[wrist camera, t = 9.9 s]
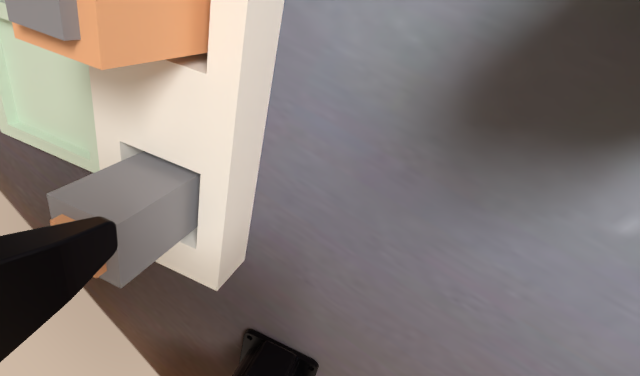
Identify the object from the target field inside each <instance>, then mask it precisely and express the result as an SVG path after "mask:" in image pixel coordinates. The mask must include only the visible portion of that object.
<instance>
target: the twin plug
mask: <svg viewBox="0 0 640 376" xmlns="http://www.w3.org/2000/svg"><path fill="white" fill-rule="evenodd" d="M200 176H201V174H199V173H196V172H194V171H192V170H189V169H187V168H184V167H182V166H179V165H177V164H175V163H172V162H170V161H167V160H165V159H162V158H160V157H157V156H155V155H153V154H150V153H148V152H145V151H143V152H141V153H138V154H136V155H134V156H132V157H129V158H127V159H125V160H122V161H120V162H118V163H116V164H113V165H111V166H109V167H107V168H104V169H102V170H100V171H97V172H95V173H93V174H91V175H88V176H86V177H84V178H81V179H79V180H77V181H75V182H72V183H70V184H68V185H66V186H63V187H61V188H59V189H56V190H54V191H52V192H50V193H47V199H48V204H49V209H50V214H51V220H50V224H51V226H52V225H57V224H62V223H67V222H71V221H76V220H81V219H86V218H91V217H96V216H103V217H105V218H107V219H110V220H112V221H114V222H115V224H116V227H117V238H118V248H117V250H116V252H115V254H114V255H113V256H112V257H111V258H110V259H109V260H108V261H107V262H106V263H105V264H104V265H103V266H102V268H101V269H100V270H99V271H98V272H97V273H96V274H95V275H94V276H93V277H95V278H98V277H99V278H101V279H103V280H105V281H107V282H109V283H111V284H113V285H115V286H117V287H119V288H122V287H124V286H125V285H126V284H127V283H129V282H130V281H131V280H132V279H134V278H135V277H136V276H137V275H138V274H140V273H141V272H142V271H143V270H145V269H146V268H147V267H148V266H150V265H151V264H152V263H153V262H155V261H156V260H157V259H158V258H159V257H161V256H162V255H163V254H164V253H166V252H167V251H168V250H169V249H171V248H172V247H173V246H174V245H175V244H177V243H178V242H179V241H180V240H182V239H183V238H184V237H185V236H187V235H188V234H189V233H190V232H192V231H193V230H194V229H195V228H196V227H198V210H199V193H200Z"/></svg>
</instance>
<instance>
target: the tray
mask: <svg viewBox="0 0 640 376" xmlns="http://www.w3.org/2000/svg"><path fill="white" fill-rule="evenodd" d="M0 130H1V132H2V133H4V134H6V135H9V136H11V137H13V138H15V139H18V140H20V141H22V142H25V143H27V144H29V145H31V146H34V147H36V148H38V149H40V150H43V151H45V152H47V153H50V154H52V155H54V156H56V157H59V158H61V159H63V160H66V161H68V162H70V163H72V164H75V165H77V166H79V167H81V168H84V169H86V170H88V171H91V172H93V173H95V172H97V171H100V167H99V158H98V149H97V139H96V130H95V121H94V112H93V102H92V93H91V84H90V74H89V65H87V64H84V63H81V62H79V61H76V60H73V59H71V58H68V57H65V56H63V55H60V54H57V53H55V52H52V51H49V50H46V49H44V48H41V47H38V46H36V45H33V44H30V43H28V42H25V41H22V40H20V39H17V38H15V35H14V30H13V25H12V22H11V21H9V18H8V13H7V8H6V3H5V0H0Z"/></svg>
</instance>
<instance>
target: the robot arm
mask: <svg viewBox="0 0 640 376" xmlns="http://www.w3.org/2000/svg"><path fill="white" fill-rule="evenodd" d="M117 248H118V238H117V227H116V224H115V222H114V221H112V220H110V219H107V218H105V217H103V216H96V217H91V218H86V219H81V220H76V221H71V222H67V223H62V224H57V225H52V226H47V227H42V228H37V229H32V230H27V231H23V232H18V233H13V234H8V235H3V236H0V362H1V361H2V360H3V359H4V358H6V357H7V356H8V355H9V354H10V353H11V352H12V351H14V350H15V349H16V348H17V347H18V346H19V345H20V344H21V343H23V342H24V341H25V340H26V339H27V338H28V337H29V336H31V335H32V334H33V333H34V332H35V331H36V330H37V329H38V328H40V327H41V326H42V325H43V324H44V323H45V322H46V321H48V320H49V319H50V318H51V317H52V316H53V315H54V314H55V313H57V312H58V311H59V310H60V309H61V308H62V307H63V306H64V305H65V304H67V303H68V302H69V301H70V300H71V299H72V298H73V297H74V296H75V295H76V294H77V293H78V292H79V291H80V290H81V289H82V288H83V287H84V285H85V284H86V283H87V282H88V281H89V280H90V279H91V278H92V277H93V276H94V275H95V274H96V273H97V272H98V271H99V270H100V269H101V268H102V266H103V265H104V264H105V263H106V262H107V261H108V260H109V259H110V258H111V257H112V256H113V255H114V254H115V252H116V250H117ZM318 367H319V365H318V363H317V362H316V361H314V360H312V359H310V358H308V357H306V356H304V355H302V354H300V353H298V352H296V351H294V350H292V349H290V348H288V347H286V346H284V345H282V344H280V343H278V342H276V341H274V340H272V339H270V338H268V337H266V336H264V335H262V334H260V333H258V332H256V331H254V330H251V329H249V330H247V332H246V333H245V335H244V340H243V345H242V351H241V357H240V362H239V366H238V367H237V369H236V370H235V372H234V374H233V375H232V376H315V375H316V372H317V370H318Z"/></svg>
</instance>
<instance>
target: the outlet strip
mask: <svg viewBox="0 0 640 376" xmlns="http://www.w3.org/2000/svg"><path fill="white" fill-rule="evenodd" d="M283 7H284V0H211V5H210V22H209V39H208V53H202V54H196V55H190V56H184V57H178V58H172V59H166V60H160V61H154V62H148V63H142V64H136V65H130V66H124V67H118V68H112V69H105V70H100V69H97V68H95V67H92V66H89V74H90V84H91V93H92V102H93V112H94V121H95V130H96V139H97V149H98V158H99V167H100V170H102V169H104V168H107V167H109V166H111V165H113V164H116V163H118V162H120V161H122V160H125V159H127V158H129V157H132V156H134V155H136V154H138V153H141V152H143V151H145V152H148V153H150V154H153V155H155V156H157V157H160V158H162V159H165V160H167V161H170V162H172V163H175V164H177V165H179V166H182V167H184V168H187V169H189V170H192V171H194V172H196V173H199V174H201V176H200V193H199V210H198V227H196V228H195V229H194V230H193V231H192V232H190V233H189V234H188V235H187V236H185V237H184V238H183V239H182V240H180V241H179V242H178V243H177V244H175V245H174V246H173V247H172V248H171V249H169V250H168V251H167V252H166V253H164V254H163V255H162V256H161V257H159V258H158V259H157V260H156V261H155V262H157V263H159V264H161V265H163V266H165V267H168V268H170V269H172V270H174V271H176V272H178V273H180V274H182V275H184V276H186V277H188V278H190V279H193V280H195V281H197V282H199V283H201V284H203V285H205V286H207V287H209V288H211V289H213V290H215V291H218V290H219V288H220V287H221V286H222V285H223V284H224V283H225V282H226V280H227V279H228V278H229V277H230V276H231V275H232V274H233V273H234V271H235V270H236V269H237V268H238V267H239V266H240V265H241V263H242V262H243V261H244V260H245V255H246V248H247V242H248V235H249V229H250V222H251V216H252V209H253V203H254V196H255V190H256V183H257V176H258V170H259V163H260V157H261V150H262V144H263V137H264V131H265V124H266V118H267V111H268V105H269V98H270V92H271V85H272V78H273V72H274V65H275V59H276V52H277V46H278V39H279V33H280V26H281V20H282V13H283Z"/></svg>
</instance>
